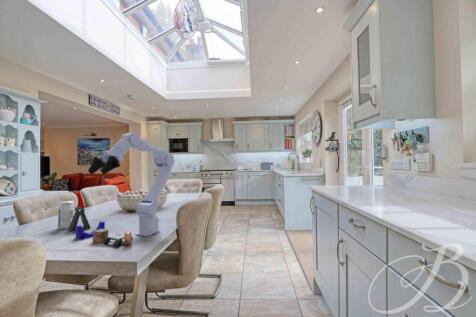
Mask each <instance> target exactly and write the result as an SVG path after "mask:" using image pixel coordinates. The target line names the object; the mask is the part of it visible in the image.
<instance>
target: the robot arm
mask: <svg viewBox="0 0 476 317" xmlns="http://www.w3.org/2000/svg"><path fill="white" fill-rule="evenodd" d="M131 148H133V149H135V150H139V151H141V152H145V151H146V152H148V153H150V154H152V155H153V156H152V159H153V161H154V165H155V167H156V169H157V170H158V172H159V173H158V174H157V175H156V178H155V179H154V181H153V184H152V185H151V187H150V188H149V191H148V193H147V195H146V196H145V197H142V198H140V201H139V202H138V203H137V204H136V205H135V213H136V214H137V216H138V232H135V233H134V235H136V236H144V237H148V236H151V235H153V234H156V233H160V232H161V230H159V226H160V224H159V217H158V215H157V212H158V210H159V205H160V203H159V201H158V199H159V197H160V195H161V192H162V191H163V189H164V187H165V184H166V182H167V180H168V179H169V178H168V177H170V174H171V170H172V168H173V166H174V163H175V157H174V154H172V153H169V151H167V150H164V149H161V148H158V147H156V146H154V145H152V144H150V143H149V142H148V141H147V140H146V139H145V138H144V137H140V136H139V134H138V133H136V132H135V133H133V132H130V133H124V134H121V136H120V137H119V140H118V141H117V142H116V143H115V144H114V145H113V146H112V147H111V148H109V149H108V150H104V151H103V152H102V153H103V154H102V155H100V156H94V157H93V160H92V163H91V165H90V166H89V168H88V170H87V171H88V173H89V174H90V175H93V174H95V173H96V172H97V171H100V172H101V173H102V175H106V174H107V173H109V172H111V171H112V170H114V169H116V168H120V167H121V164H120V163H122V162H123V161H124V160H125V159H124V157H123V156H124V155H125V154H126V153H127V152H128V151H129V150H130V149H131Z"/></svg>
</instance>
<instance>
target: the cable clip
mask: <svg viewBox="0 0 476 317" xmlns="http://www.w3.org/2000/svg"><path fill="white" fill-rule="evenodd" d="M105 224H106V222H105V221H103V220H101V221H99V222H98V226H97V227H96V228H95V229H94V230H93V231H95V230H99V229H105V230H106V228H105V226H106V225H105ZM82 227H83V225H80V224H77V226H76V231H75V239H77V240H85V239H88V238H93V231H90V232H85V231H84V230H82Z"/></svg>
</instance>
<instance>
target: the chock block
mask: <svg viewBox="0 0 476 317" xmlns="http://www.w3.org/2000/svg"><path fill="white" fill-rule="evenodd" d="M94 230H95V229H94ZM94 230H93V237H92V243H97V244H103V239H104V238H106V237H109V229H106V228H105V229H99V230H95V231H94Z"/></svg>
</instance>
